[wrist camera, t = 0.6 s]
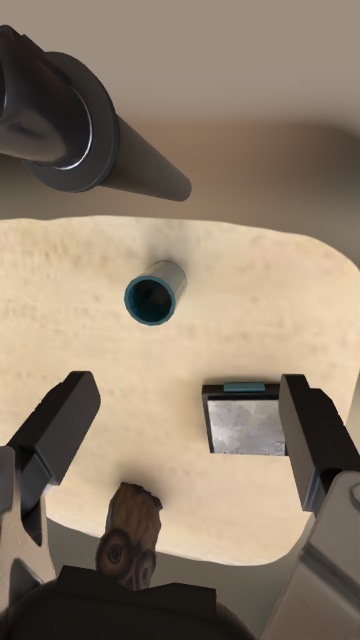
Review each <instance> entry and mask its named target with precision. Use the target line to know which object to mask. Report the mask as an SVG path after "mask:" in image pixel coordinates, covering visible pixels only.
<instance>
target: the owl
mask: <svg viewBox="0 0 360 640" xmlns="http://www.w3.org/2000/svg"><path fill="white" fill-rule="evenodd" d="M162 508H163V507H162V504H161V502H160V500H159V498H157V497H154V496H152V495H151V493H150V492H148V491H146V490H144V489H143V487H141V486H138V485H135V484H128V483H125V482H122V483H121V485H120V487H119V489H118V490H117V491H116V493H115V495H114V496H113V498H112V499H111V500H110V504H109V510H108V515H107V520H106V527H105V533H104V535H103V536H102V537H101V539H100V543H99V545H98V547H97V551H96V557H95V567H94V570H98V571H100V572H101V573H103V574H105V575H106V576H108V577H109V578H111V579H113V580H114V581H116V582H117V583H119V584H121V585H122V586H124V587H125V588H127V589H129V590H131V591H138V590H142V589H147V588H149V585H150V580H151V576H152V574H153V572H154V570H155V566H156V553H155V545H156V543H157V539H158V534H159V531H160V529H161V522H160V518H159V511H160V510H161V509H162Z"/></svg>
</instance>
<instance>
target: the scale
mask: <svg viewBox="0 0 360 640" xmlns="http://www.w3.org/2000/svg"><path fill="white" fill-rule="evenodd" d="M279 392H280V384H264V383H225V384H224V385H203V387H202V400H203V407H204V414H205V420H206V427H207V434H208V441H209V448H210V453H218V454H246V455H273V456H289V454H288V450H287V446H286V442H285V438H284V434H283V430H282V426H281V422H280V417H279V410H278V400H279Z"/></svg>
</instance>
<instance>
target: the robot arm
mask: <svg viewBox="0 0 360 640" xmlns="http://www.w3.org/2000/svg"><path fill="white" fill-rule="evenodd" d="M93 138H94V127H93V121H92V116H91V113H90V110H89V108H88V106H87V104H86V102H85V100H84V99H83V97H82V96H81V95H80V94H79V93H78V91H76V90H75V89H74V88H73V86H72V83H71V79H70V77H69V76H67V75H66V74H65V73H64V72H63V71H62V70H61V69H59V68H58V67H57V66H56V65H55V64H54V63H52V62H51V61H50V60H49V59H48V58H47V57H46V56H45V53H44V51H43V50H42V49H41V48H40V47H39V46H37V45H36V44H35V43H34V42H33V41H32V40H30V39H29V38H28V37H27V36H26V35H25V34H24V35H20V34H19V33H18V32H16V31H15V30H14V29H13V28H12V27H10V26H8V25H2V26H0V153H2V154H6V155H10V156H13V157H17V158H21V159H25V160H28V161H31V162H33V163H34V164H36V165H38V166H41V167H44V166H42V165H41V164H44V165H47V166H50V167H53V168H56V169H60V170H70V169H74V168H76V167H78V166H79V165H81V164H82V163H83V162H84V161H85V160H86V158H87V157H88V155H89V153H90V151H91V148H92V144H93ZM39 163H40V164H39ZM45 168H46V167H45ZM100 403H101V398H100V394H99V391H98V388H97V385H96V383H95V380H94V377H93V374H92V373H91V372H90V371H72V372H70V373H69V375H68V376H67V377H66V379H65V380H64V381H63V382H60V383H59V384H58V385H56V386H55V387H54V388H52V389H51V390H50V391H49V392H48V393H47V394H46V396H45V397H44V398H43V399H42V401H41V403H39V404H38V406H37V407H36V408H35V411H33V412H32V413H31V414H30V416H29V417H28V418H27V419H26V421H25V422H24V423H23V424H22V426H21V427H20V428H19V429H18V431H17V432H16V433H15V435H14V436H13V437H12V438H11V440H10V441H9V442H8V443H7V444H6V446H1V447H0V640H258V638H257V637H256V635H255V634H254V633H253V632H252V630H251V629H250V628H249V627H248V625H247V624H246V623H245V622H244V621H243V620H242V619H241V618H240V617H239V616H238V615H237V614H236V613H235V612H234V611H232V610H231V609H230V608H228V607H227V606H226V605H224V604H222V603H221V602H219V601H217V596H216V589H213V588H207V587H201V586H194V585H188V584H182V583H170V584H166V585H161V586H157V587H152V588H147V589H142V590H138V591H131V590H129V589H127V588H125V587H124V586H122V585H121V584H119V583H117V582H116V581H114V580H113V579H111V578H109V577H108V576H106V575H105V574H103V573H101V572H100V571H98V570H93V569H86V568H80V567H74V566H67V565H63V567H62V570H61V572H60V574H59V577H58V578H56V576H55V571H54V567H53V564H52V561H51V558H50V555H49V550H48V537H47V522H46V507H45V496H44V493H43V491H44V490H45V488H46V486H47V485H58V486H59V485H60V484H61V482H62V480H63V478H64V476H65V474H66V472H67V470H68V468H69V466H70V464H71V462H72V460H73V459H74V457H75V455H76V453H77V451H78V449H79V447H80V445H81V443H82V441H83V439H84V437H85V435H86V433H87V432H88V430H89V428H90V426H91V424H92V422H93V420H94V418H95V416H96V414H97V412H98V410H99V408H100ZM278 410H279V417H280V422H281V426H282V430H283V434H284V438H285V442H286V446H287V450H288V454H289V458H290V462H291V466H292V470H293V474H294V478H295V482H296V486H297V490H298V494H299V498H300V502H301V506H302V510H303V511H308V512H314V515H315V519H316V520H315V523H314V525H313V527H312V529H311V532H310V534H309V536H308V538H307V540H306V543H305V545H304V546H303V547H302V549H301V551H300V553H299V555H298V557H297V559H296V561H295V563H294V565H293V568H292V570H291V572H290V574H289V577H288V579H287V581H286V584H285V586H284V588H283V590H282V592H281V594H280V596H279V599H278V601H277V603H276V605H275V608H274V610H273V612H272V614H271V617H270V619H269V621H268V623H267V625H266V627H265V630H264V632H263V634H262V636H261V639H260V640H360V455H359V453H358V451H357V449H356V447H355V445H354V443H353V441H352V439H351V437H350V435H349V433H348V431H347V429H346V427H345V426H344V425H343V421H342V419H341V417H340V415H338V411H337V409H336V407H335V405H334V403H333V401H332V399H331V398H329V397H328V396H327V395H326V394H325V393H324V392H323V391H322V390H321V389H318V388H310V387H309V384H308V382H307V380H306V377H305V376H304V375H303V374H282V376H281V384H280V392H279V400H278Z"/></svg>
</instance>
